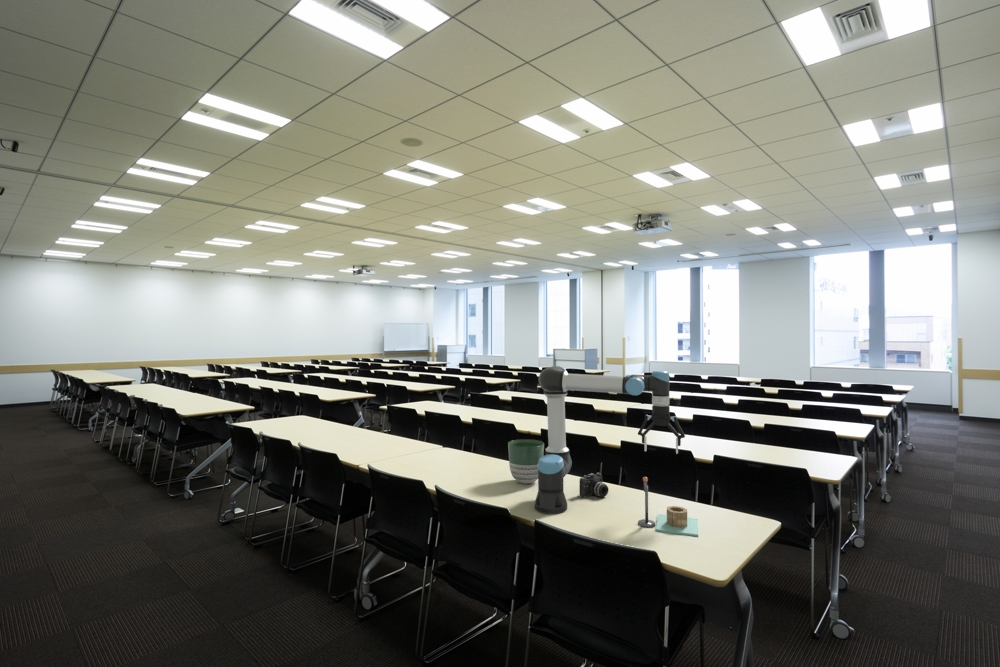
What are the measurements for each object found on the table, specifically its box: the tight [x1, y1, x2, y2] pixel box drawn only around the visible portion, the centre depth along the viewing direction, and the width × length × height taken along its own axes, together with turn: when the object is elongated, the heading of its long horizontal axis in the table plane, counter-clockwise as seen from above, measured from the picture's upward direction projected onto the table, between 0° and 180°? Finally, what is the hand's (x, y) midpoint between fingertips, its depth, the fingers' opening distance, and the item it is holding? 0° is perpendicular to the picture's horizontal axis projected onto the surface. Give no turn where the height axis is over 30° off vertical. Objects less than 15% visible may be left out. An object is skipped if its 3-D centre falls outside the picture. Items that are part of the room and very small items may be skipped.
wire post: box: [637, 476, 656, 529], centre depth 205 cm, size 7×10×22 cm, turn 159°
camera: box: [579, 472, 609, 498], centre depth 244 cm, size 14×11×10 cm
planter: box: [507, 439, 545, 485], centre depth 267 cm, size 20×20×21 cm
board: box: [655, 513, 699, 537], centre depth 205 cm, size 16×18×1 cm
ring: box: [666, 505, 688, 528], centre depth 205 cm, size 8×8×6 cm
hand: (661, 451), depth 223 cm, fingers open, 13 cm apart
